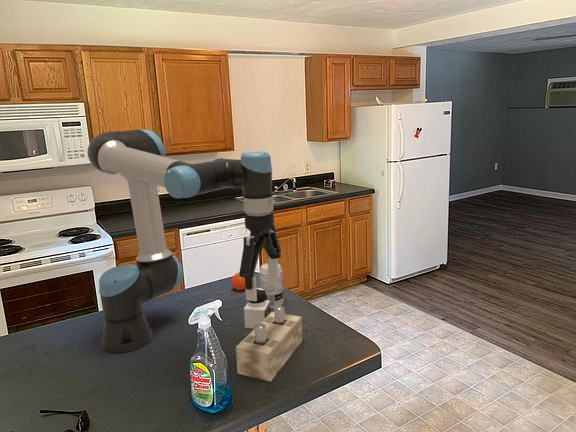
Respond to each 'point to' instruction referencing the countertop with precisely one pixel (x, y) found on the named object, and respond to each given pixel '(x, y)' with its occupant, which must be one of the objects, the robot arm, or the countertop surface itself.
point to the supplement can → (272, 286)
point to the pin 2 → (279, 315)
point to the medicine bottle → (256, 309)
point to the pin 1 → (260, 334)
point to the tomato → (238, 282)
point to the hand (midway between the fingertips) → (263, 290)
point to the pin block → (269, 348)
